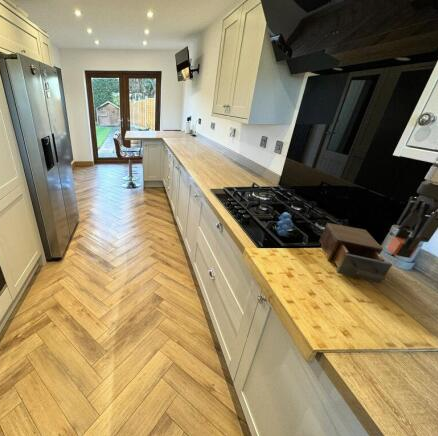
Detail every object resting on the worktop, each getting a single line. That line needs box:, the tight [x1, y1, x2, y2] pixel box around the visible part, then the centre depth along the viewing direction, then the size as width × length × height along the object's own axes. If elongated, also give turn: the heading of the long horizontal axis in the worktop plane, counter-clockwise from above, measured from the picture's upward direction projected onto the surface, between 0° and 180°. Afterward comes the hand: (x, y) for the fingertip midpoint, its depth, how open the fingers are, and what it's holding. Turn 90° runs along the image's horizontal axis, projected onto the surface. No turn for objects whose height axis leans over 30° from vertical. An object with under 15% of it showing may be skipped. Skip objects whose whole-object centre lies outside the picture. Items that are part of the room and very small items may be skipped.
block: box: [386, 235, 419, 259], centre depth 76 cm, size 4×4×4 cm
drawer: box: [332, 242, 393, 284], centre depth 85 cm, size 20×13×8 cm, turn 158°
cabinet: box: [318, 222, 384, 263], centre depth 95 cm, size 16×14×10 cm
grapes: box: [275, 211, 295, 237], centre depth 107 cm, size 12×7×12 cm, turn 165°
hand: (398, 251), depth 77 cm, fingers closed on block, 4 cm apart
